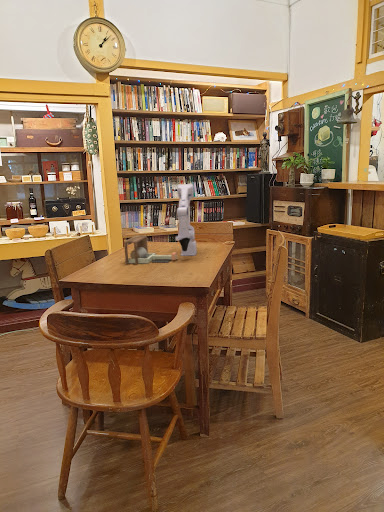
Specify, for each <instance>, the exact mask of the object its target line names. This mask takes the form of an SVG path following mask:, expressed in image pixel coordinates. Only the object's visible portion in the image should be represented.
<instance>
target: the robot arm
mask: <svg viewBox="0 0 384 512" xmlns="http://www.w3.org/2000/svg"><path fill="white" fill-rule="evenodd" d="M176 189H177V196H178V198H179V201H178V208H176V214H177V221H178V235H176V236H175V242H176V241H178V242H179V244H180V246H181V247H180V248H181V253H180V254H179V255H180V256H181V257H182V256H183V257H185V256H196V255H197V254H198V253H197V252H198V250H197V246H198V245H197V241H196V240H195V239H196V236H195V233H196V231H195V228H194V226H193V225H191V218H190V217H191V214H190V213H191V207H190V203H191V200H192V199H193V198H194V190H195V189H194V183H187V184H186V183H184V184H183V183H181V184H179V183H178V184H177V186H176Z"/></svg>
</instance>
